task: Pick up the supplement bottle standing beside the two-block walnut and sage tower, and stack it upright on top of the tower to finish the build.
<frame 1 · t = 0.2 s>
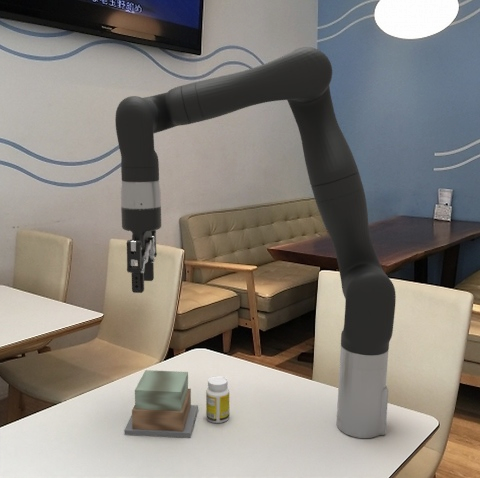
hand: (143, 286, 107), 28 cm above the table, fingers open, 8 cm apart
supplement bottle: (217, 418, 113), on the table
brick tower: (162, 399, 110), on the baseplate, point 5 cm above the table
baseplate: (162, 421, 111), on the table
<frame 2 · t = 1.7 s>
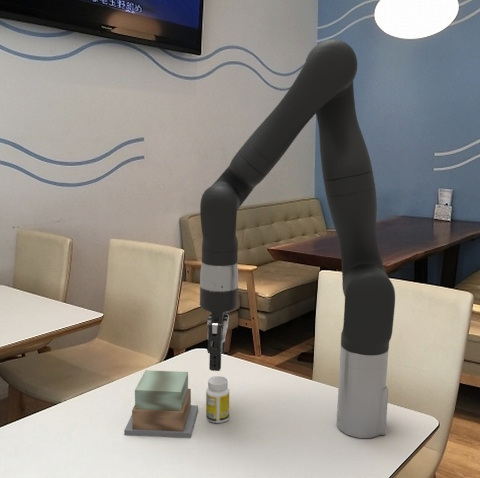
hand: (217, 361, 110), 13 cm above the table, fingers open, 8 cm apart
nothing on the table moved.
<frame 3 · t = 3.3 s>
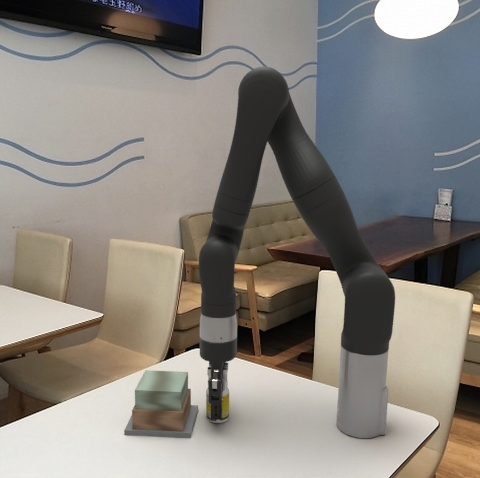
hand: (217, 411, 113), 1 cm above the table, fingers closed on supplement bottle, 4 cm apart
supplement bottle: (217, 418, 113), on the table, touching gripper
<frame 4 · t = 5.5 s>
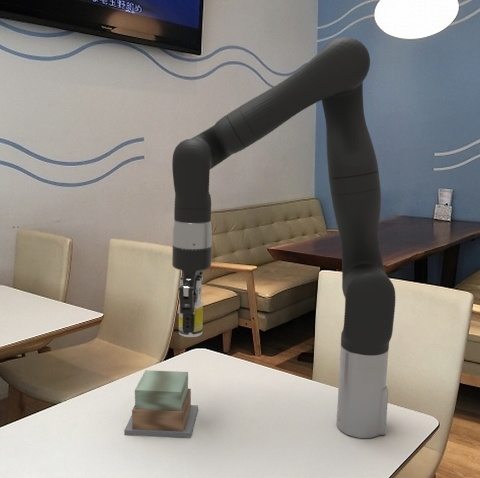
hand: (190, 326, 108), 20 cm above the table, fingers closed on supplement bottle, 4 cm apart
supplement bottle: (190, 334, 109), point 18 cm above the table, touching gripper
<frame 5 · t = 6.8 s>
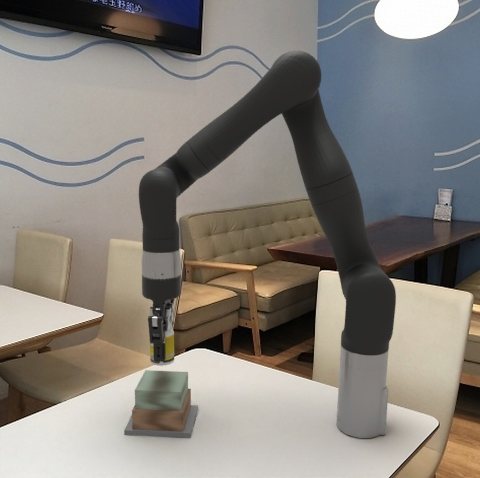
hand: (162, 354, 108), 15 cm above the table, fingers closed on supplement bottle, 4 cm apart
supplement bottle: (162, 362, 108), point 13 cm above the table, touching gripper
when the fingers open (12 cm above the table, at t = 7.7 s): supplement bottle drops 1 cm, resting on brick tower.
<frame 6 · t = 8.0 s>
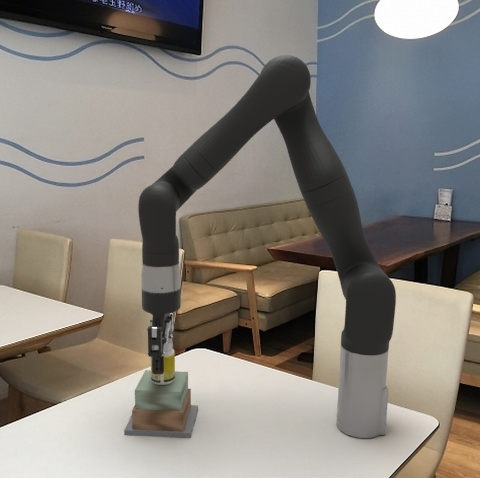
hand: (162, 365, 109), 12 cm above the table, fingers open, 7 cm apart
supplement bottle: (162, 381, 109), point 9 cm above the table, touching brick tower
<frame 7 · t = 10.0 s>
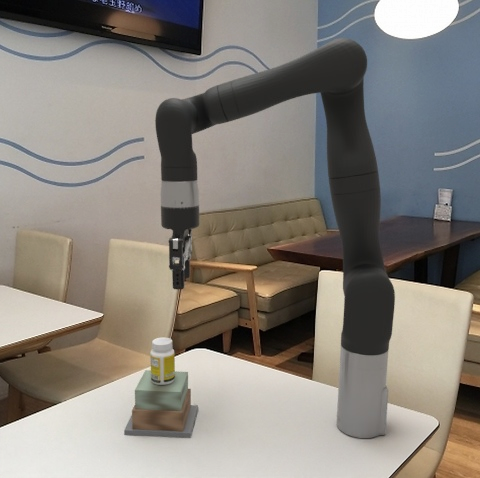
hand: (181, 283, 110), 28 cm above the table, fingers open, 8 cm apart
nothing on the table moved.
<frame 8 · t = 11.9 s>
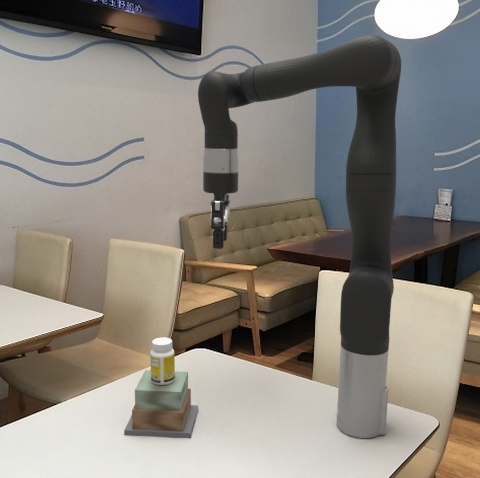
hand: (220, 244, 119), 34 cm above the table, fingers open, 8 cm apart
nothing on the table moved.
at the end: supplement bottle 0.1 cm off-centre on the brick tower, point 8.8 cm above the brick tower's base; supplement bottle tilted 0°; the gripper is holding nothing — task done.
